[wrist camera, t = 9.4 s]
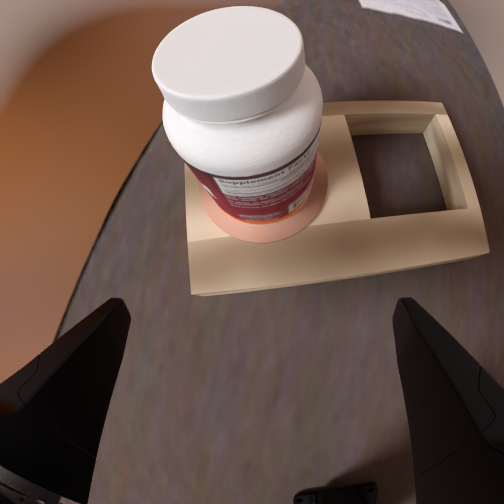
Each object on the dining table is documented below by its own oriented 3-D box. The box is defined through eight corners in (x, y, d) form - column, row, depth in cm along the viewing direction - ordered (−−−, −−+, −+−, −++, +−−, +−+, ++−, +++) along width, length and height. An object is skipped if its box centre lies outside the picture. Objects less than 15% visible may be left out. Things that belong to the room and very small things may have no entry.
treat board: (468, 259, 18) (492, 251, 15) (205, 296, 21) (189, 294, 17) (429, 122, 21) (443, 100, 17) (196, 143, 23) (183, 121, 20)
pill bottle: (209, 145, 19) (141, 18, 8) (302, 131, 18) (303, -14, 7) (216, 236, 18) (117, 145, 7) (320, 221, 17) (357, 102, 6)
